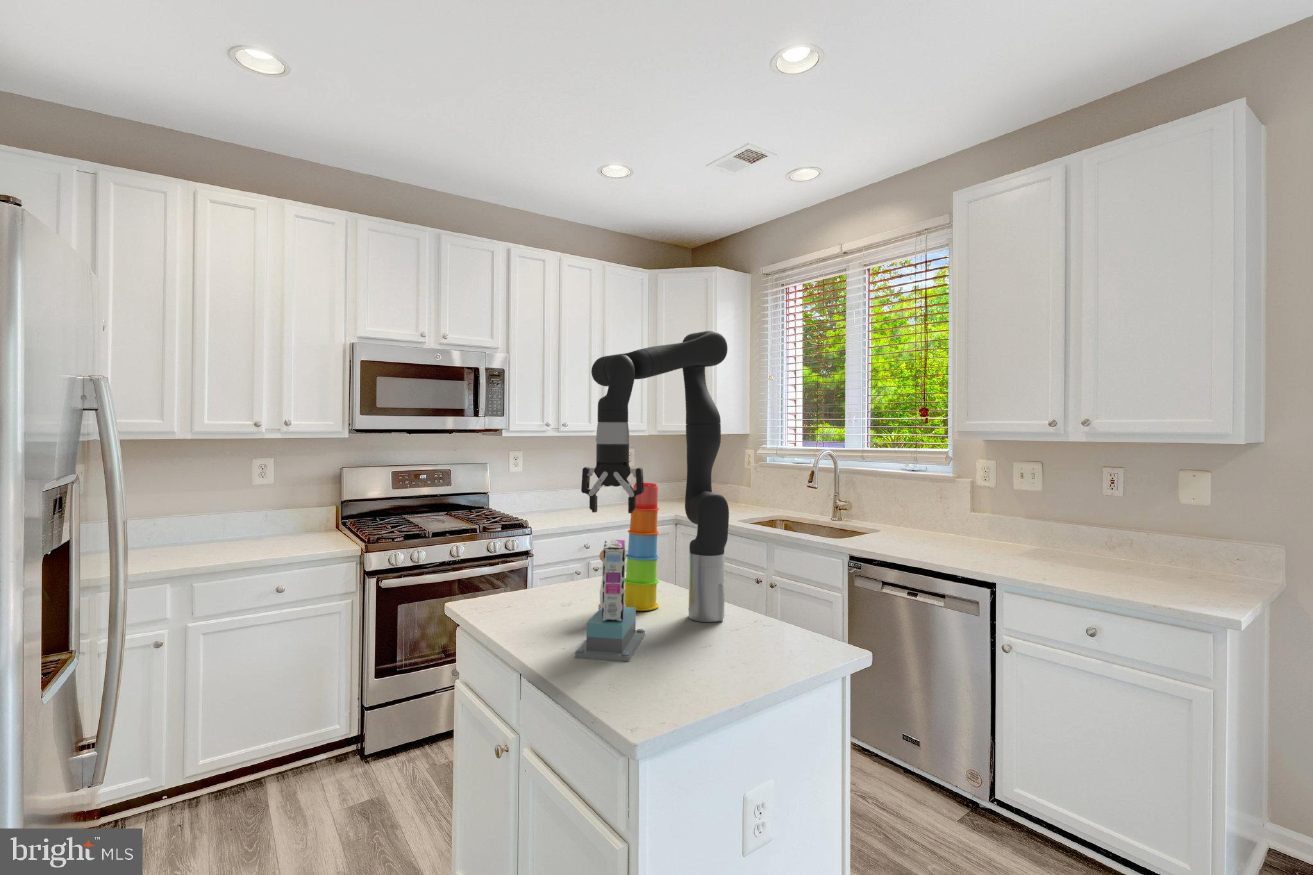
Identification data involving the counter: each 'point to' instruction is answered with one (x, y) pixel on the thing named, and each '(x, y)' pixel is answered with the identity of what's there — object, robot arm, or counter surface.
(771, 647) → the counter surface
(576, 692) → the counter surface
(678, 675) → the counter surface
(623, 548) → the candy bar box
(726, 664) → the counter surface
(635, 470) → the robot arm
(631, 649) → the teal gray mounted block
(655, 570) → the stacking cups
